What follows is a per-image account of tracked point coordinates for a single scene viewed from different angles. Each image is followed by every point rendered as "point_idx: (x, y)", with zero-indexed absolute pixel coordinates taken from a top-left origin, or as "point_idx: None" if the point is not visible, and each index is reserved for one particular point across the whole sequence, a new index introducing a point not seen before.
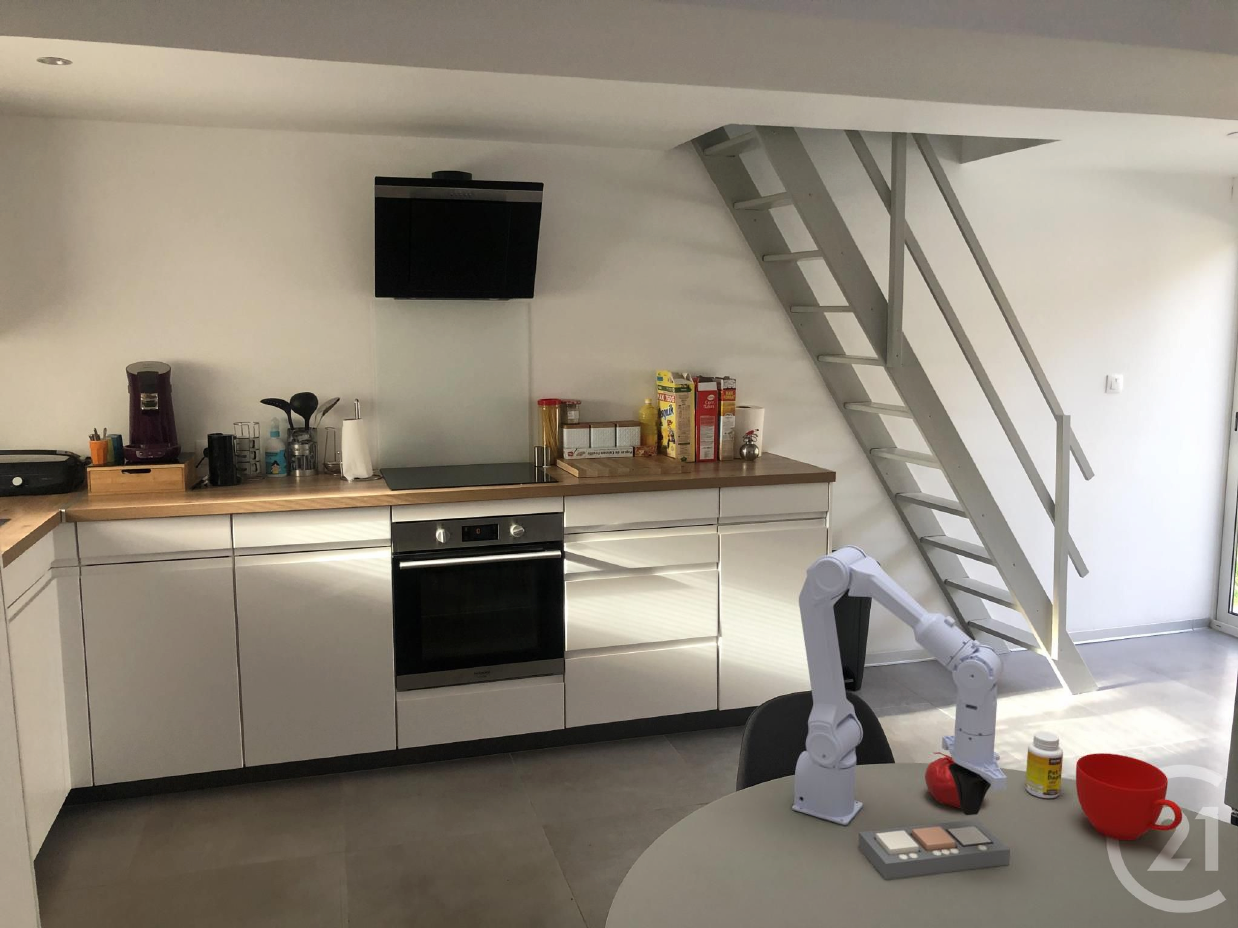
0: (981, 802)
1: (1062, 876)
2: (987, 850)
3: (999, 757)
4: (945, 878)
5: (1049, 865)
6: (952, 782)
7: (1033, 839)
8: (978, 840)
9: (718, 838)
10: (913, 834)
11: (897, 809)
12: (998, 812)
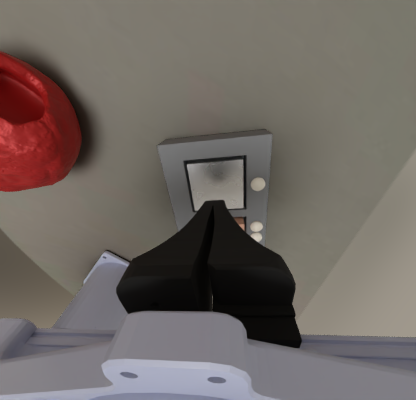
0: (229, 212)
1: (336, 30)
2: (265, 177)
3: (238, 347)
4: (272, 229)
5: (290, 38)
6: (48, 164)
7: (185, 13)
8: (234, 179)
9: None
10: None
11: (105, 218)
12: (73, 44)
